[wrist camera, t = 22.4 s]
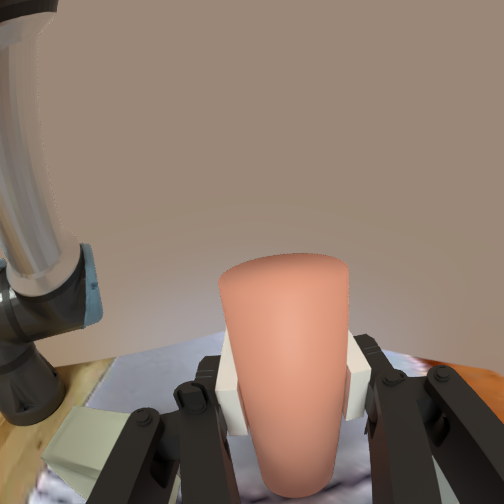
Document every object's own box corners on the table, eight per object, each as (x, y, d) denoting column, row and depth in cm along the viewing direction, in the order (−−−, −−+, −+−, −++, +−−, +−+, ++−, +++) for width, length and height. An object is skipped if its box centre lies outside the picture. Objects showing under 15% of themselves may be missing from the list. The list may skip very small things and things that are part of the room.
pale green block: (123, 470, 20) (74, 404, 17) (180, 479, 20) (138, 414, 17) (106, 515, 13) (40, 456, 11) (169, 531, 13) (109, 482, 10)
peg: (262, 447, 14) (227, 260, 11) (328, 440, 13) (331, 248, 10) (260, 500, 10) (206, 306, 7) (337, 492, 9) (367, 288, 6)
